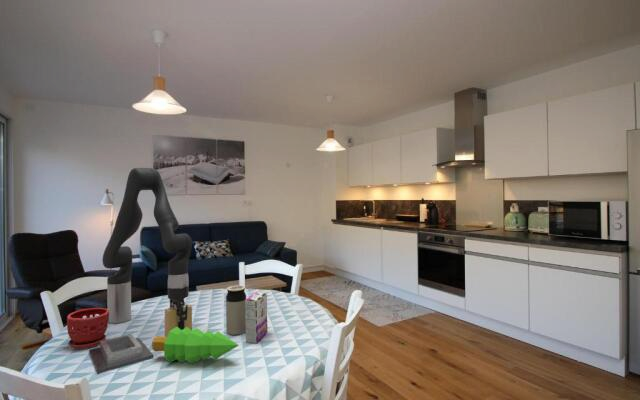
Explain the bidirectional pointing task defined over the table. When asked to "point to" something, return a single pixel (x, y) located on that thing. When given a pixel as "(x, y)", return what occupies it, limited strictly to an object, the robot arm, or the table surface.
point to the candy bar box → (256, 317)
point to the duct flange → (119, 353)
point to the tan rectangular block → (176, 319)
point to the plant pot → (87, 327)
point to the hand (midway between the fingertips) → (178, 328)
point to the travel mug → (235, 310)
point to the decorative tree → (192, 345)
